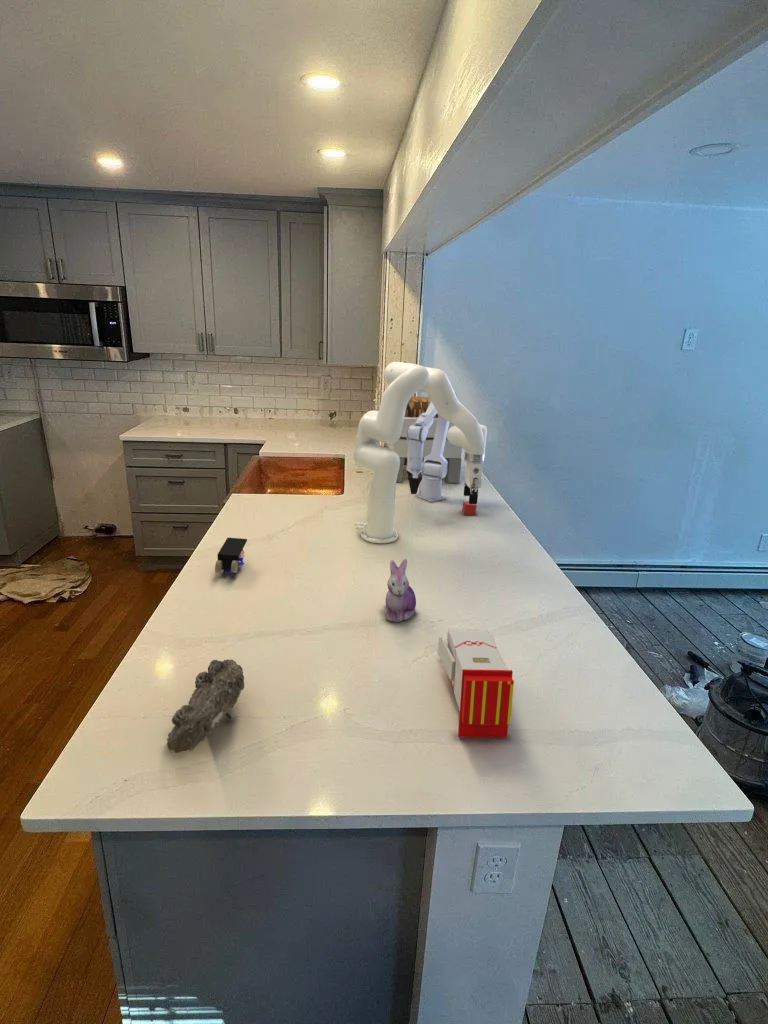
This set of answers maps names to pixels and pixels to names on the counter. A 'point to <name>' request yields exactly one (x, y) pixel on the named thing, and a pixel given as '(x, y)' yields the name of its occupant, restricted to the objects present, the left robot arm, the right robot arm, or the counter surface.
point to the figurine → (399, 594)
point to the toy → (478, 682)
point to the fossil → (206, 705)
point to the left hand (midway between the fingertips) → (470, 499)
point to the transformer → (426, 441)
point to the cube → (469, 508)
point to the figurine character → (230, 556)
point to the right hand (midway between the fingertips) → (413, 490)
